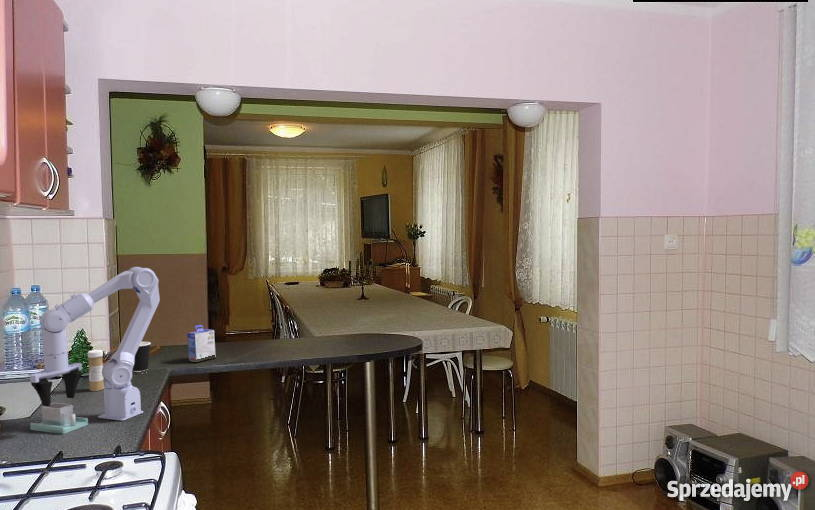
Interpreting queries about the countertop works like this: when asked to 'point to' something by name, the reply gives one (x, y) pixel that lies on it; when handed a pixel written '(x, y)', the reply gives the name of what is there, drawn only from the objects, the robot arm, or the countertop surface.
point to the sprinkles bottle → (95, 370)
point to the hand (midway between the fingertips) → (58, 401)
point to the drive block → (57, 414)
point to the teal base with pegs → (75, 424)
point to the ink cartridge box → (201, 343)
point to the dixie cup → (142, 357)
